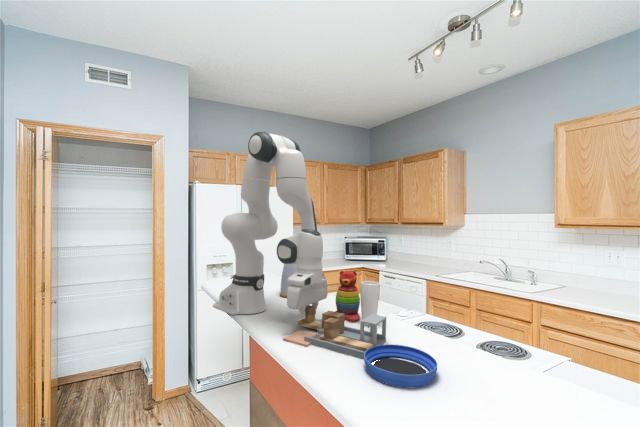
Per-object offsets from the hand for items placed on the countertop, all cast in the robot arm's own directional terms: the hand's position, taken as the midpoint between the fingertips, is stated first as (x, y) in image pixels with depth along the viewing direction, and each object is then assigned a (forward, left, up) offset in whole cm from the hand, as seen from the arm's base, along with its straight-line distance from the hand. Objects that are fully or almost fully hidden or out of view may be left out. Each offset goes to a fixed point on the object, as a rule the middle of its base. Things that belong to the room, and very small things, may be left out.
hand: (308, 316), depth 114 cm
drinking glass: (+16, +16, -4) cm, 23 cm away
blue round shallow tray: (+37, -13, -4) cm, 39 cm away
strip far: (+5, 0, -4) cm, 6 cm away
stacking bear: (+6, +18, -4) cm, 20 cm away
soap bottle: (-32, +33, -4) cm, 46 cm away
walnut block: (+10, 0, -2) cm, 10 cm away
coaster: (+5, -10, -4) cm, 11 cm away
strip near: (+19, -8, -4) cm, 20 cm away
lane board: (+17, -4, -4) cm, 17 cm away
